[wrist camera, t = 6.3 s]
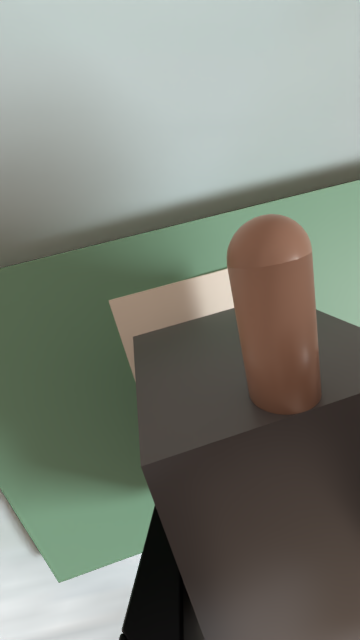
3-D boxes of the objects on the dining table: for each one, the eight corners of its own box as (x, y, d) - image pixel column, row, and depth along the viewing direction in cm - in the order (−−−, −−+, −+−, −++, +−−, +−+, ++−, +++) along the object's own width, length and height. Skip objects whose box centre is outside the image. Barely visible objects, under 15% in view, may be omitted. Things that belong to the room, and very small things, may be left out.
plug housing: (199, 546, 11) (246, 753, 6) (104, 245, 7) (67, 268, 3) (303, 507, 11) (412, 676, 7) (270, 203, 7) (471, 165, 3)
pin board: (64, 554, 14) (39, 685, 10) (-89, 290, 9) (-256, 335, 5) (381, 442, 16) (468, 515, 12) (388, 172, 11) (539, 138, 7)
